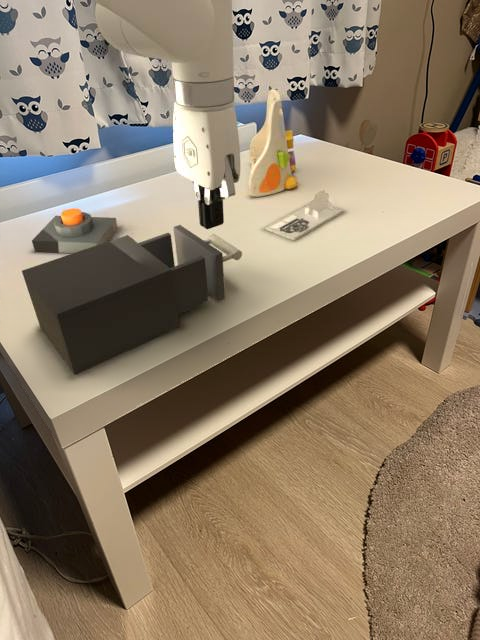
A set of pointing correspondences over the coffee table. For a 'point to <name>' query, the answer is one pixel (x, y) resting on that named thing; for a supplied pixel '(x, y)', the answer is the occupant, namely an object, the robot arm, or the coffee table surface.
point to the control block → (74, 234)
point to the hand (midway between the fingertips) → (211, 224)
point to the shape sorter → (272, 153)
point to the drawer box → (102, 301)
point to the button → (72, 216)
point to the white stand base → (305, 218)
